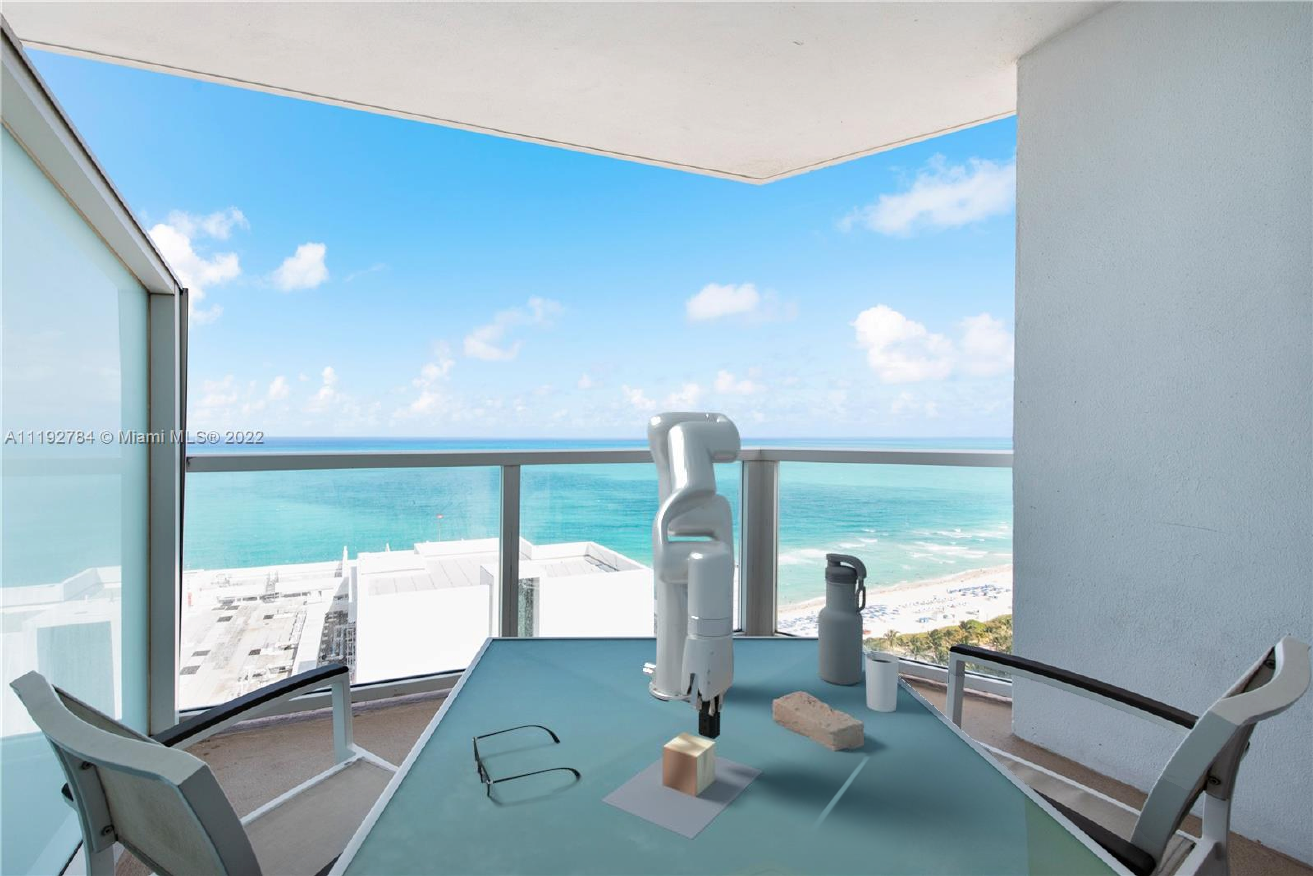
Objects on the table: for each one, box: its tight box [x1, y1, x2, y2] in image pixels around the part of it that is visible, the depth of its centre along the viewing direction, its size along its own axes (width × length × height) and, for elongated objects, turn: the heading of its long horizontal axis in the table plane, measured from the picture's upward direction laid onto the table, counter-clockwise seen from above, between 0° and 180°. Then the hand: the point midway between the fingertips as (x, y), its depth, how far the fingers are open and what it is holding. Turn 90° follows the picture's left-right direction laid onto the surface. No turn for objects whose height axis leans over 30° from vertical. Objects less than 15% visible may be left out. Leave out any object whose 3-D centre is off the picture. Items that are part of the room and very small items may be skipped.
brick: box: [772, 691, 866, 752], centre depth 123 cm, size 16×8×5 cm, turn 32°
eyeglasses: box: [472, 724, 581, 797], centre depth 108 cm, size 16×16×4 cm
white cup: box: [864, 651, 900, 713], centre depth 134 cm, size 7×7×10 cm
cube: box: [662, 731, 716, 797], centre depth 103 cm, size 6×6×6 cm
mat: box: [600, 754, 764, 840], centre depth 102 cm, size 16×22×1 cm
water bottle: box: [817, 553, 868, 686], centre depth 149 cm, size 10×10×28 cm
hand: (709, 735), depth 108 cm, fingers closed
